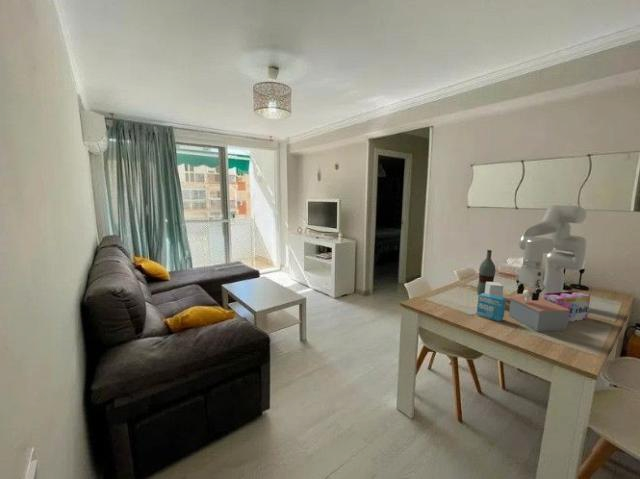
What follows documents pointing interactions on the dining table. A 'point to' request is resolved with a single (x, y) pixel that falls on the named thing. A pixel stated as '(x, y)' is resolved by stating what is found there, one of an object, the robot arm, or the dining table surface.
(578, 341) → the dining table surface
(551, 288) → the robot arm
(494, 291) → the supplement box
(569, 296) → the gum box
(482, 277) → the bottle
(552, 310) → the lid flap
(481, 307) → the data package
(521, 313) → the carton
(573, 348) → the dining table surface
